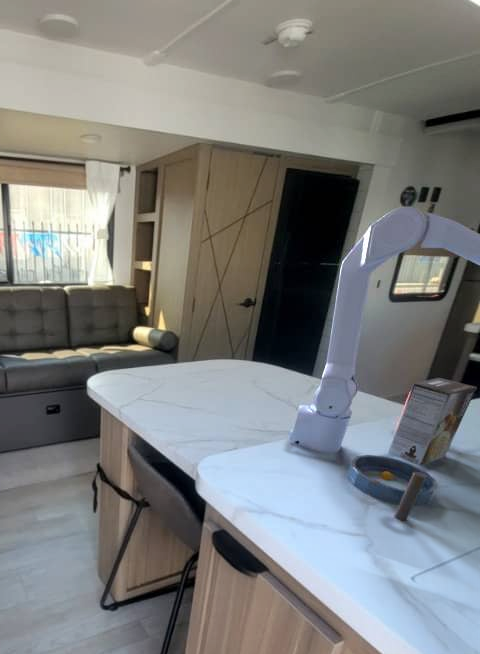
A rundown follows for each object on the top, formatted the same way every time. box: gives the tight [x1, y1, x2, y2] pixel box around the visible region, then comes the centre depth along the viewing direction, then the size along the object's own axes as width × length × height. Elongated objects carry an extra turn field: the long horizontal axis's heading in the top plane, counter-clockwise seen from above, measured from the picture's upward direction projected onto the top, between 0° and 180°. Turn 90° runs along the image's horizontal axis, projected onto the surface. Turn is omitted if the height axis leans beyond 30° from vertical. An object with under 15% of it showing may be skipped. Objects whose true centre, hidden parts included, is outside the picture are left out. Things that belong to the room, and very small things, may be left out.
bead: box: [379, 471, 394, 481], centre depth 72 cm, size 2×2×2 cm
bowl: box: [346, 454, 439, 508], centre depth 70 cm, size 12×12×4 cm
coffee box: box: [387, 377, 478, 466], centre depth 78 cm, size 9×6×16 cm
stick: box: [394, 472, 427, 522], centre depth 60 cm, size 3×3×9 cm
